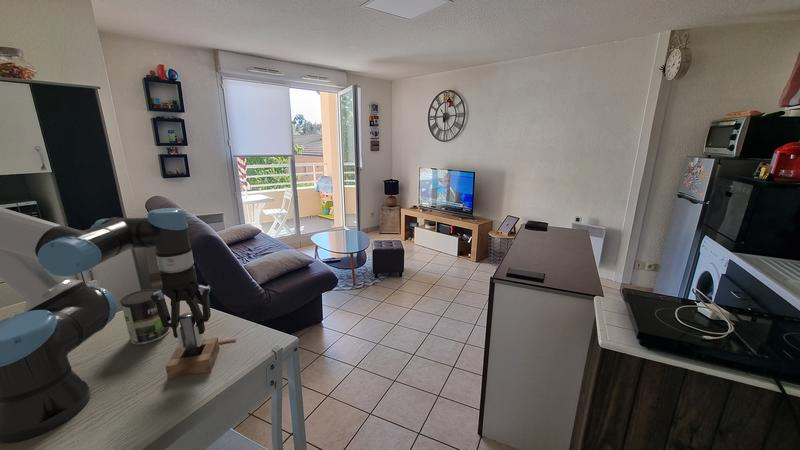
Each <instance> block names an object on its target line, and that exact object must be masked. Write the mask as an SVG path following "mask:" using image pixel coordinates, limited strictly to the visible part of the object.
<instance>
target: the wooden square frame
mask: <svg viewBox="0 0 800 450" xmlns="http://www.w3.org/2000/svg"><path fill="white" fill-rule="evenodd" d="M218 341H219V337H217V336H216V337H211V338H205V339H204V338H203V342H202V344H201V346H200V349H201V355H198V356H192V357H187V355H186V350H185V347H184V349H180V345H179V344H178V345H177V347H176V348H175V350H174V351H173V353H172V355H171V357H170V358H169V360H168V362H167V363H166V365H165V370H166V374H167V375H166V376H167V380H172V379H176V378H183V377H189V376H194V375H199V374H204V373H210V372H212V369H213V367H214V365H215V363H216V360H217V357H218V354H219V351H220V344H219V342H218Z"/></svg>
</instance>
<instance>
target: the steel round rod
mask: <svg viewBox="0 0 800 450" xmlns="http://www.w3.org/2000/svg"><path fill="white" fill-rule="evenodd" d="M179 320H180V322H179V324H180V325H181V330H182V335H183V340H184V345H185V350H186V355H187V357H192V356H198V355H201V349H200V346H199V347H197V342H196V337H195V331H194V325H195V323H196V322H195V319H194V317H193V315H192V312H191V311H190V312H185V313H183V314H181V315H180V317H179Z"/></svg>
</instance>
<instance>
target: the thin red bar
mask: <svg viewBox="0 0 800 450" xmlns="http://www.w3.org/2000/svg"><path fill="white" fill-rule="evenodd" d="M236 341H237V338H232V339H225V340H218V342H219V345H220V344H221V345H222V344H226V343H232V342H236Z"/></svg>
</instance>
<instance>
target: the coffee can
mask: <svg viewBox="0 0 800 450" xmlns="http://www.w3.org/2000/svg"><path fill="white" fill-rule="evenodd" d="M160 290H161V289H160V288H147V289H141V290H138V291H137V290H136V291H135V292H132V293H128V294H127V295H125V296H122V298H121V299H120V300H119V303H120V305H121V308H122V312H123V315H124V319H125V320H124V321H125V324H126V328H127V333H128V336H129V342H130V343H131V344H133V345H138V346H139V345H146V344H150V343H153V342H156V341H159V340H160V339H162V338H164V337H166V336H167V335H168V334H169V333H170V330H171V327H166V328H164V327H163V326H162V323H161V319H160V316H159V313H158V310H157V307H156V304H155V302H154V301H153V300H152V299H151V296H152V295H153V294H154V292H156V291H160Z"/></svg>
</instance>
